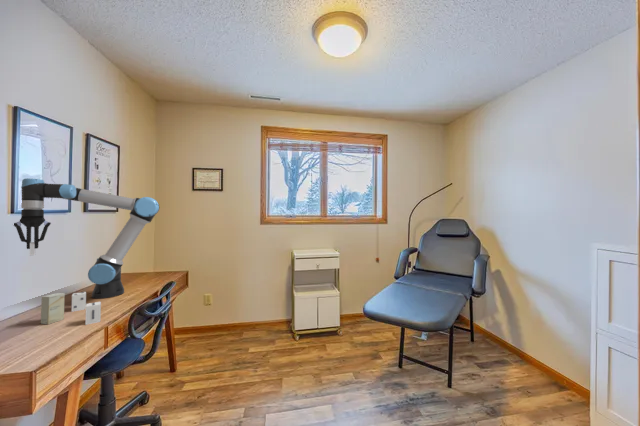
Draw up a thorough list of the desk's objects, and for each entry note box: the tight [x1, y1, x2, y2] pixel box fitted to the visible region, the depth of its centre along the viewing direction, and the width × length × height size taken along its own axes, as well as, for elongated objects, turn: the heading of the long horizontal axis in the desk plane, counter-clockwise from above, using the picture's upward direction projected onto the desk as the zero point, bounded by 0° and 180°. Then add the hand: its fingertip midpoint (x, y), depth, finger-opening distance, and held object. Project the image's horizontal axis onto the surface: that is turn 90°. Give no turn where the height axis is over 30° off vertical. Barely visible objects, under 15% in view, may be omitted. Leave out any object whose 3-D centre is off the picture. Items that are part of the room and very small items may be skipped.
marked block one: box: [84, 301, 102, 326], centre depth 114 cm, size 5×5×8 cm
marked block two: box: [71, 291, 87, 312], centre depth 129 cm, size 5×5×8 cm
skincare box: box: [40, 292, 66, 325], centre depth 114 cm, size 6×4×12 cm
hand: (32, 255), depth 127 cm, fingers closed
